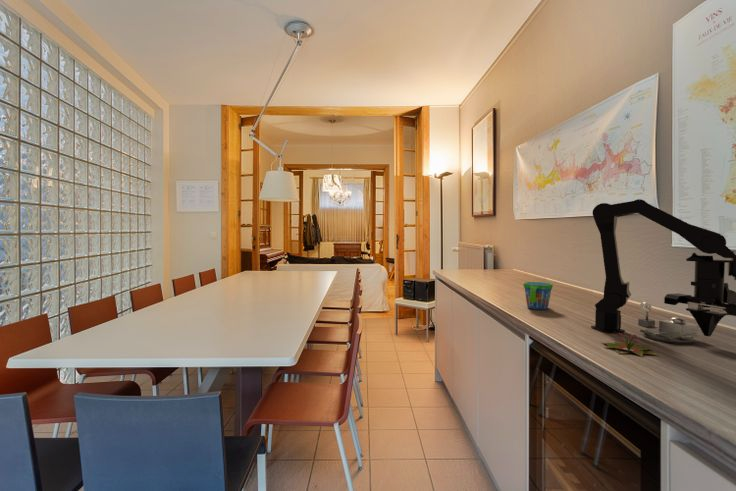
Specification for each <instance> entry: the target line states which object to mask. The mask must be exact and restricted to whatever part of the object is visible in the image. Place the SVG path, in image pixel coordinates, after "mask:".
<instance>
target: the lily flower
mask: <svg viewBox="0 0 736 491" xmlns="http://www.w3.org/2000/svg"><path fill="white" fill-rule="evenodd" d="M625 332H626V331H625ZM625 332H623V333H624V335H625V336H624V335H623V334H622V332H619V333H618V334H619V335H620V336H621V337H619V339H620V341H614V342H603V344H604V345H607V346H605V347H604V349H615V351H616V352H617V353H618V354H619V353H620V354H619V355H621V354H633V353H634V354H636V355H638V356H640V357H642V358H643V355H644V354H645V355H653V356H659V354H657V353H655V352H653V351H652V349H651V348H649V347H646V346H643V345H640V344H638V343H639V342H640V340H639V338H636V337H637V335H636V334H633V335H632V333H630V335H629V336H630V337H629V339H628V336H627V334H626V333H625ZM623 338H624V339H623ZM634 338H636V340H635V341H634V340H633V339H634ZM619 349H620V350H621V351H622V350H624V351H625V349H626V350H628V351H627V352H624V353H623V352H622V353H621V351H620V350H619ZM633 349H634V350H633Z"/></svg>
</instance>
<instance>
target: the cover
mask: <svg viewBox="0 0 736 491" xmlns="http://www.w3.org/2000/svg"><path fill="white" fill-rule="evenodd" d="M658 322H659V324H658V325H659V326H658V328H659V329H660V330H664V331H667V332H671V333H675V334H679V335H689V334H695V335H697V334H699V333H698V332H699V331H698V330H699V329H698V328H699V325H698V323H697V324H695V323H694V322H693V323H692V322H688V321H687V320H686V318H684V317H683V318H682V317H676V316H673V317H671V318H670V319H665V320H663V319H661V320H659V321H658Z"/></svg>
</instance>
